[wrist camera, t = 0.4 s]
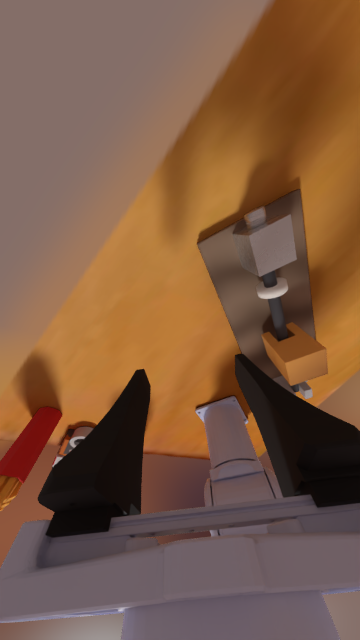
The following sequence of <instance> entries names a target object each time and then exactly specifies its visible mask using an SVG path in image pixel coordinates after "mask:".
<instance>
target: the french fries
mask: <svg viewBox="0 0 360 640" xmlns="http://www.w3.org/2000/svg"><path fill="white" fill-rule="evenodd" d="M61 417H62V414H61V412H60V411H59V410H57V409H54V408H51V407H43V408H39V410H38V411H37V412H36V414H35V415H34V417H33V418H32V419H31V421H30V422H29V423H28V425H27V426H26V427H25V429H24V430H23V431H22V433H21V434H20V435H19V437H18V438H17V439H16V441H15V442H14V444H13V445H12V446H11V448H10V449H9V450H8V452H7V453H6V455H5V456H4V457H3V458H2V460H1V461H0V511H1V510H3V508H4V507H5V506H6V505H8V504H10V502H11V500H12V499H13V498H15V497H16V495H17V493H18V491H19V489H20V487H21V485H22V483H24V481H25V480H26V478H27V476H28V474H29V473H30V471H31V469H32V467H33V466H34V464H35V462H36V461H37V459H38V457H39V455H40V454H41V452H42V450H43V448H44V447H45V445H46V443H47V441H48V440H49V438H50V436H51V434H52V433H53V431H54V429H55V427H56V426H57V424H58V422H59V420H60V419H61Z"/></svg>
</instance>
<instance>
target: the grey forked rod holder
mask: <svg viewBox="0 0 360 640" xmlns="http://www.w3.org/2000/svg"><path fill="white" fill-rule="evenodd" d="M273 380H274V381H275V382H277V383H278V384H279V385H281V386H282V387H284V388H285V389H287V390H288V391H290V392H291V393H293V394H294V395H296V394H295V393H294V391H293V390H292V389H291V387H290V386H289V383H288V382H287V380H286V379H285V378H284V376H283V375H282V376H279V377H277V378H274V379H273ZM306 382H307V381H304V382H301V383H298V385H299V391H300V392H301V394H302V395H303V396H304V398H305V399H308V398H311V397H313V396H312V389H311V388H310V387H309V386H308V384H307V383H306Z"/></svg>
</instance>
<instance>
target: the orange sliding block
mask: <svg viewBox="0 0 360 640" xmlns="http://www.w3.org/2000/svg"><path fill="white" fill-rule="evenodd" d="M286 327H287V332H288V337H289V338H287V339H285V340H282V341H279V342H278V341H277V340H276V339H275V338H274V337H273V336H272V334H271V333H270V332H267V333H264V334H262V335H261V336H262V339H263V342H264V345H265V349H266V352H267V355H268V357H269V358H270V359H271V361H272V362H273V363H274V365H275V366H276V367H277V368H278V370H279V371H280V372H281V374H282V375H283V376H284V378H285V379H286V380H287V382H288V383H289V384H290V386H292V385H295V384H298V383H301V382H304V381H307V380H310V379H313V378H316V377H319V376H322V375H325V374H328V368H327V353H326V348H325V347H324V346H322V345H321V344H320V343H319V342H317V341H316V340H315V339H313V338H312V337H311V336H310V335H308V334H307V333H306V332H304V331H303V330H302V329H301V328H299V327H298V326H297V325H295V324H294V323H293V322H291V323H289V324H286Z"/></svg>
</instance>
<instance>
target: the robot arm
mask: <svg viewBox="0 0 360 640" xmlns="http://www.w3.org/2000/svg"><path fill="white" fill-rule="evenodd" d="M235 375H236V378H237V380H238V383H239V386H240V388H241V390H242V392H243V394H244V397H245V399H246V401H247V403H248V405H249V407H250V409H251V411H252V413H253V415H254V417H255V420H256V422H257V425H258V427H259V430H260V432H261V435H262V438H263V441H264V443H265V446H266V449H267V452H268V454H269V457H270V460H271V463H272V466H273V469H274V472H275V474H274V473H273V472H272V471H271V470H270V469H269V468H268V467H264V468H263V467H262V465H261V462H260V460H258V458H257V455H256V452H255V450H254V447H253V444H252V442H251V439H250V436H249V434H248V431H247V428H246V426H245V424H247V423H248V420H247V418H246V416H245V414H244V412H243V410H242V408H241V407H240V405H239V403H238V401H237V399H236V397H235V396H231V397H228V398H225V399H222V400H220V401H217V402H214V403H211V404H208V405H205V406H202V407H199V408H196V409H195V412H196V413H197V414H198V416H199V417H200V418H201V419H202V421H203V422H204V424H205V430H206V436H207V442H208V448H209V454H210V460H211V465H212V470H210V476H211V478H208V479H207V482H206V484H205V489H204V495H205V506H206V507H199V508H191V509H182V510H174V511H166V512H157V513H148V514H141V482H142V479H141V478H142V459H143V445H144V433H145V426H146V420H147V414H148V408H149V402H150V387H151V386H150V383H149V381H148V378H147V375H146V373H145V370H144V369H140V370H136V371H135V373H134V375H133V376H132V378H131V380H130V381H129V383H128V385H127V386H126V388H125V389H124V391H123V392H122V394H121V395H120V397H119V398H118V400H117V401H116V402H115V404H114V405H113V406H112V408H111V409H110V410H109V412H108V413H107V414H106V415H105V416H104V418H103V419H102V420H101V421H100V422H99V423H98V425H97V426H96V427H95V428H94V429H93V430H92V431H91V432H90V433H89V434H88V435H87V436H86V437H85V438H84V439H83V440H82V441H81V442H80V443H79V444H78V445H77V446H76V447H75V448H74V449H73V450H71V451H70V452H69V453H68V454H67V455H66V456H65V457H63V458H62V459H61V460H60V461H59V462H58V463H57V464H55V465H54V466H53V468H52V470H51V472H50V474H49V476H48V478H47V480H46V482H45V484H44V486H43V488H42V490H41V492H40V494H39V497H38V501H39V503H40V504H42V505H43V506H45V507H47V508H48V509H50V510H52V511H54V512H55V513H54V515H53V518H52V520H37V521H30V522H25V523H23V525H22V527H21V529H20V531H19V533H18V535H17V536H16V538H15V540H14V543H13V544H12V546H11V548H10V550H9V552H8V554H7V556H6V558H5V560H4V562H3V564H2V566H1V568H0V623H4V622H22V621H33V620H44V619H55V618H68V617H80V616H92V615H104V614H117V613H124V619H123V628H122V636H121V640H340V637H339V635H338V632H337V630H336V627H335V625H334V623H333V620H332V618H331V615H330V613H329V611H328V608H327V606H326V603H325V601H324V598H323V596H322V595H324V594H334V593H344V592H353V591H360V431H359V430H358V429H357V428H356V427H355V426H353V425H351V424H349V423H347V422H345V421H343V420H341V419H338V418H336V417H334V416H332V415H330V414H328V413H326V412H324V411H322V410H320V409H318V408H316V407H315V406H313V405H311V404H309V403H308V402H306V401H304V400H302V399H301V398H299V397H297V396H296V395H294V394H293V393H291V392H290V391H288V390H287V389H285V388H284V387H282V386H281V385H279V384H278V383H277V382H275V381H274V380H273V379H272V378H270V377H269V376H268V375H267V374H265V373H264V372H263V371H262V370H261V369H259V368H258V367H257V366H256V365H255V364H254V363H253V362H252V361H251V360H250V359H248V358H247V357H246V356H245V355H244V354H238V355H235ZM263 469H264V470H263ZM264 472H265V473H264ZM275 475H276V476H275ZM209 530H210V533H211V536H212V537H204V538H196V539H188V540H179V541H174V542H171V543H167V544H163V545H160V544H159V543H158V540H157V539H156V538H146V537H155V536H164V535H173V534H182V533H191V532H200V531H209Z"/></svg>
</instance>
